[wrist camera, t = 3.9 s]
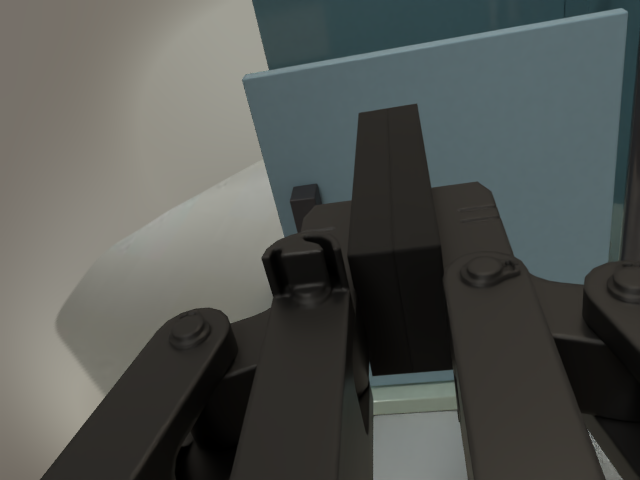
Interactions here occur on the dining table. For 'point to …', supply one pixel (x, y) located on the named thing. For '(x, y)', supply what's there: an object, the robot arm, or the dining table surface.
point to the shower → (438, 24)
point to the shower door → (468, 132)
